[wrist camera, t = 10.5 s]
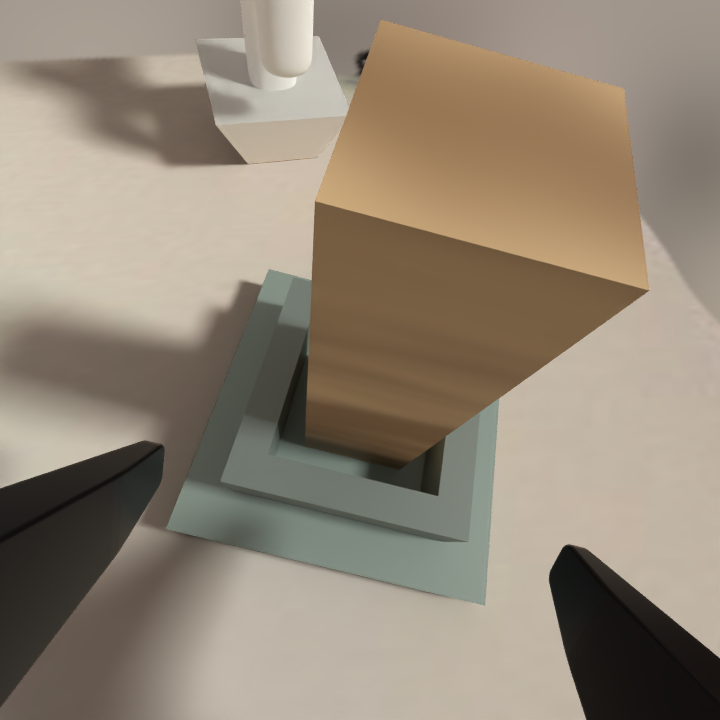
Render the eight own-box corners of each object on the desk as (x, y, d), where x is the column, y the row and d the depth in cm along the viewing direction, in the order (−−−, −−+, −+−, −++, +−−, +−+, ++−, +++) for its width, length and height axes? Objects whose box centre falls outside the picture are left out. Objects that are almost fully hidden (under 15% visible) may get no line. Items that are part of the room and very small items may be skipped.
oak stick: (399, 469, 16) (649, 291, 5) (304, 446, 16) (315, 201, 5) (414, 381, 18) (624, 88, 6) (328, 360, 18) (381, 19, 6)
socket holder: (469, 600, 16) (518, 617, 12) (177, 530, 16) (140, 526, 12) (490, 344, 21) (529, 303, 18) (270, 286, 21) (264, 233, 17)
